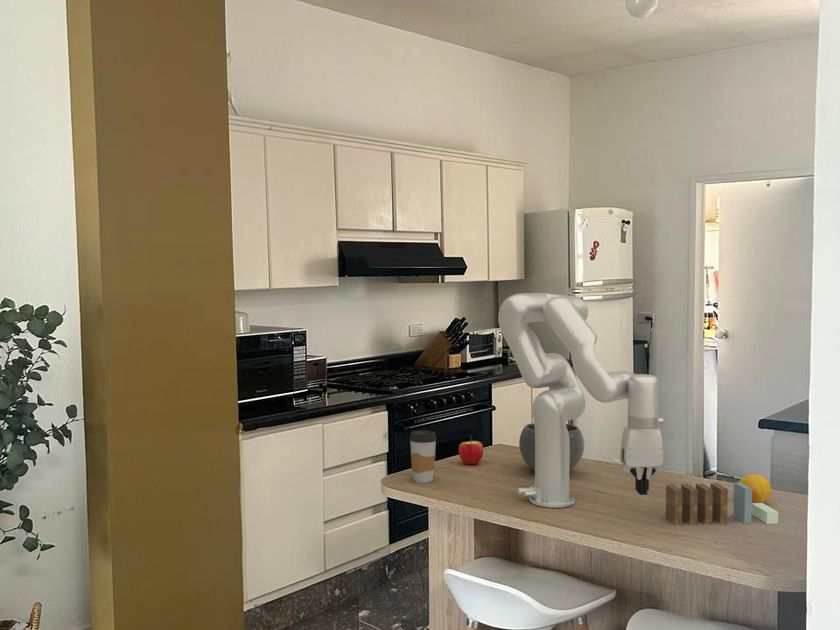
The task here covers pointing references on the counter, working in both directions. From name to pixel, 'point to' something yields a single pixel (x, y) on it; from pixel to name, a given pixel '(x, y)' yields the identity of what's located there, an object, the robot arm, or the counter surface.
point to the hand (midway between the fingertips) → (641, 493)
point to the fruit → (757, 487)
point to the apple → (471, 452)
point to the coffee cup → (423, 455)
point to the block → (764, 513)
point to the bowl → (529, 445)
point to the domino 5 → (742, 502)
